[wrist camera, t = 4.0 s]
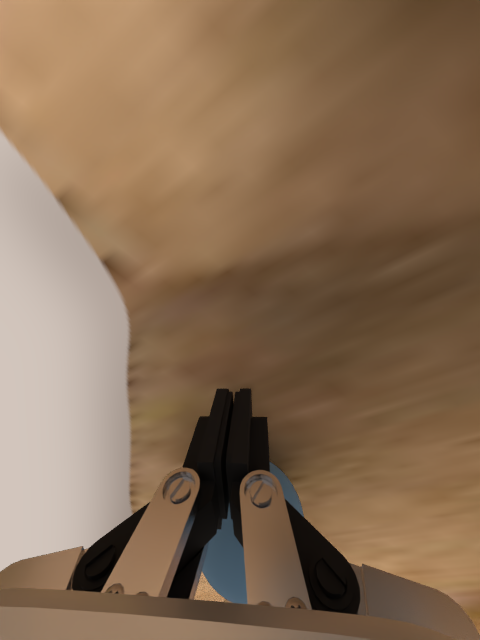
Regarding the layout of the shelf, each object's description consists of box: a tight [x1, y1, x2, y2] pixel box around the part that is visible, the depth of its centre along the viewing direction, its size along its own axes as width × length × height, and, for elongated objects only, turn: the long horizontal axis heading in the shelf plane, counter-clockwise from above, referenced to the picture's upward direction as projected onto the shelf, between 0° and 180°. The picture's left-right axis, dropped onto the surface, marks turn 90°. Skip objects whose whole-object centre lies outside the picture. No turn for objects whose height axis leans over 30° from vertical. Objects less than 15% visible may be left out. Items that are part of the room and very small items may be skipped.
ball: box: [202, 461, 304, 604], centre depth 13 cm, size 6×6×6 cm
